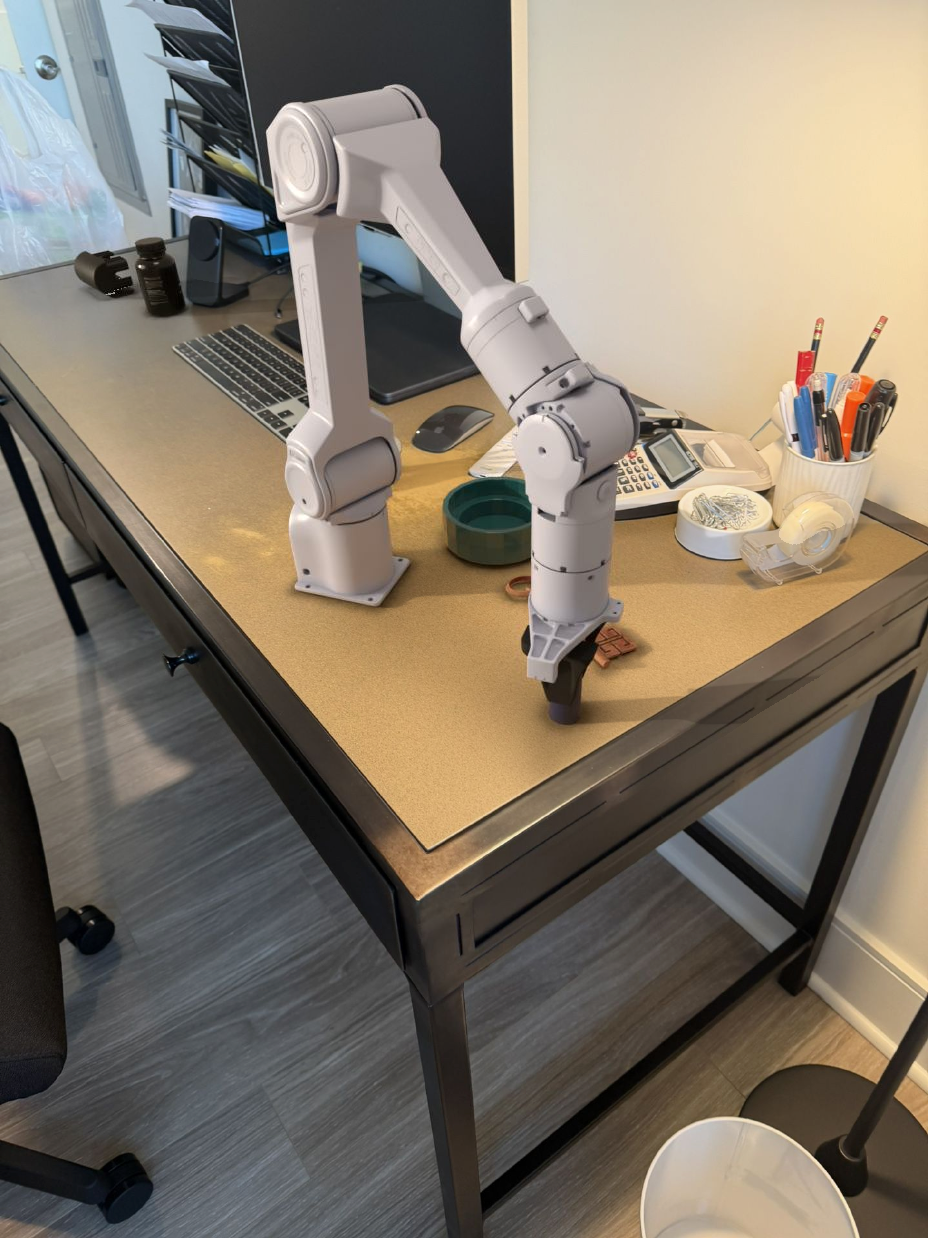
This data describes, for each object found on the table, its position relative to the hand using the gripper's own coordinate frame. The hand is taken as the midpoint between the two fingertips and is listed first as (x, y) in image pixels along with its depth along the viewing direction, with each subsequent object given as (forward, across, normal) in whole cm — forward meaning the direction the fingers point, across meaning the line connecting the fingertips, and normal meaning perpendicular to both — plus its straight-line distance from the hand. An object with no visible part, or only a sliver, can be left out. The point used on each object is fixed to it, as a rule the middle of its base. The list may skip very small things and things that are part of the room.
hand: (565, 688), depth 70 cm
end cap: (+3, +81, +113) cm, 139 cm away
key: (+3, +12, +3) cm, 13 cm away
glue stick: (+3, 0, 0) cm, 3 cm away
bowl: (+3, +23, +14) cm, 27 cm away
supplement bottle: (+3, +75, +95) cm, 121 cm away
